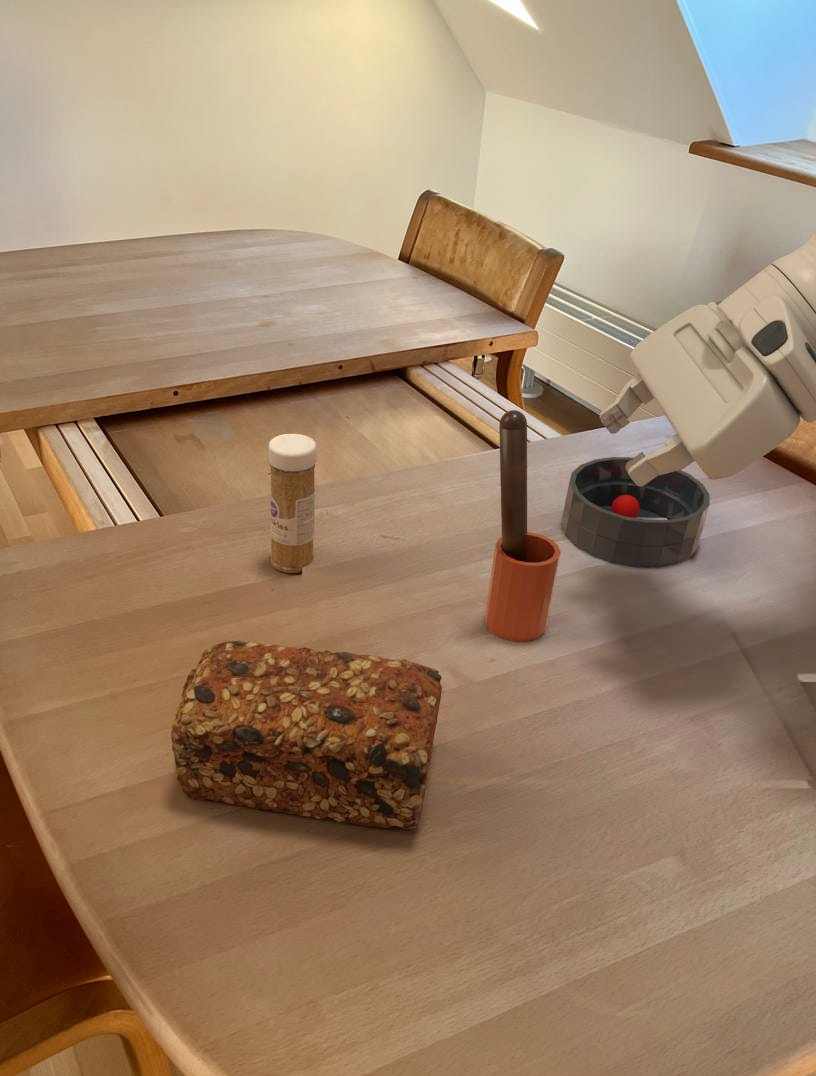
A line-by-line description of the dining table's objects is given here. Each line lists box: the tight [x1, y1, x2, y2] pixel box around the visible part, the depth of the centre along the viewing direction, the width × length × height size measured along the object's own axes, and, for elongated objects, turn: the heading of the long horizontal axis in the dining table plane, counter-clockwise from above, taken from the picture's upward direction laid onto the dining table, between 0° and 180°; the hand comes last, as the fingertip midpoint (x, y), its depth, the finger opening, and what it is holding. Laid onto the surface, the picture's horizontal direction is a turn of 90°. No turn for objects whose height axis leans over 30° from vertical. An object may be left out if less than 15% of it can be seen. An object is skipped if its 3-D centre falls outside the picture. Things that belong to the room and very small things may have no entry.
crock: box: [484, 531, 561, 643], centre depth 88 cm, size 6×6×9 cm
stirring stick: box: [498, 409, 528, 562], centre depth 84 cm, size 2×2×21 cm
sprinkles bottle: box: [267, 433, 318, 574], centre depth 95 cm, size 5×5×13 cm
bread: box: [170, 639, 443, 830], centre depth 72 cm, size 19×11×10 cm, turn 78°
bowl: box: [560, 456, 711, 569], centre depth 103 cm, size 14×14×6 cm
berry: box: [611, 495, 640, 518], centre depth 105 cm, size 3×3×3 cm
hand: (617, 450), depth 80 cm, fingers open, 8 cm apart
